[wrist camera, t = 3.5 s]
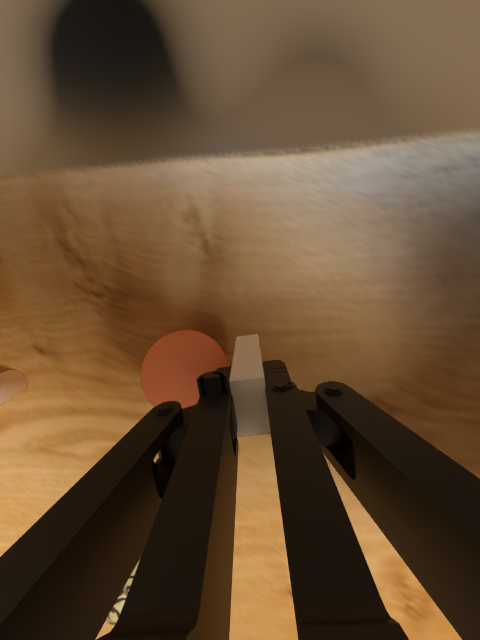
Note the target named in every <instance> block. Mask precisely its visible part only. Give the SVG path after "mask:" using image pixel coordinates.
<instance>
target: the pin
mask: <svg viewBox="0 0 480 640" xmlns="http://www.w3.org/2000/svg"><path fill="white" fill-rule="evenodd" d="M26 389H27V380H26V378H25V377H24V375H23V374H22V373H20V372H19V371H17V370H7V371H5V372H2V373H0V405H1V404H3V403H5V402H6V401H8V400H10V399H12V398H14V397H16V396H18V395H20V394H21V393H23V392H25V390H26Z"/></svg>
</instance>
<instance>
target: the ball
mask: <svg viewBox="0 0 480 640" xmlns="http://www.w3.org/2000/svg"><path fill="white" fill-rule="evenodd" d="M221 367H228V363H227V359H226V356H225V354H224V352H223V350H222V348H221V347H220V346H219V344H218V343H217V342H216V341H215V340H213V339H212V338H211V337H209V336H208V335H206V334H203V333H201V332H198V331H193V330H181V331H176V332H172V333H170V334H167V335H166V336H164V337H162V338H161V339H159V340H158V341H157V342H156V343H155V344H154V345H153V346H152V347H151V348H150V349H149V351H148V353H147V354H146V356H145V358H144V361H143V364H142V368H141V384H142V388H143V391H144V393H145V395H146V397H147V399H148V400H149V402H150V403H151V404H152V405H153V406H154V407H155V406H157V405H159V404H161V403H163V402H166V401H177V402H179V403H181V407H182V409H183V408H186V407H190V406H193V405H195V404H197V403H198V400H199V397H200V395H199V390H198V385H197V381H196V379H197V378H198V377H199V376H200V375H202V374H204V373H207V372H210V371H216V370H217V369H218V368H221Z"/></svg>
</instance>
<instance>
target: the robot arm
mask: <svg viewBox="0 0 480 640" xmlns="http://www.w3.org/2000/svg"><path fill="white" fill-rule="evenodd" d="M196 381H197V385H198V390H199V395H200V397H199V400H198V403H197V404H195V405H193V406H190V407H186V408H183V409H182V407H181V403H179V402H177V401H166V402H163V403H161V404H159V405H157V406H155V407H154V408H153V409H152V410H150V411H149V412H148V413H147V414H146V415H145V416H144V417H143V418H142V419H141V420H140V421H139V422H138V423H137V424H136V425H135V426H134V427H133V428H132V429H131V430H130V431H129V432H128V433H127V434H126V435H125V436H124V437H123V438H122V439H121V440H120V441H119V442H118V443H117V444H116V445H115V446H114V447H113V448H112V449H111V450H110V451H109V452H107V453H106V454H105V455H104V456H103V457H102V458H101V459H100V460H99V461H98V462H97V463H96V464H95V465H94V466H93V467H92V468H91V469H90V470H89V471H88V472H87V473H86V474H85V475H84V476H83V477H82V478H81V479H80V480H79V481H78V482H77V483H76V484H75V485H74V486H73V487H72V488H71V489H70V490H69V491H68V492H67V493H66V494H65V495H63V496H62V497H61V498H60V499H59V500H58V501H57V502H56V503H55V504H54V505H53V506H52V507H51V508H50V509H49V510H48V511H47V512H46V513H45V514H44V515H43V516H42V517H41V518H40V519H39V520H38V521H37V522H36V523H35V524H34V525H33V526H32V527H31V528H30V529H29V530H28V531H27V532H26V533H25V534H24V535H23V536H22V537H20V538H19V539H18V540H17V541H16V542H15V543H14V544H13V545H12V546H11V547H10V548H9V549H8V550H7V551H6V552H5V553H4V554H3V555H2V556H1V557H0V640H95V639H96V637H97V635H98V633H99V632H100V630H101V628H102V626H103V624H104V623H105V621H106V619H107V617H108V615H109V613H110V612H111V610H112V608H113V606H114V604H115V603H116V601H117V599H118V597H119V595H120V594H121V592H122V590H123V588H124V586H125V585H126V583H127V581H128V579H129V577H130V576H131V574H132V572H133V570H134V568H135V567H136V565H137V563H138V561H139V559H140V558H141V559H140V561H139V564H138V567H137V569H136V572H135V575H134V578H133V580H132V583H131V586H130V589H129V591H128V594H127V597H126V599H125V602H124V605H123V608H122V610H121V613H120V615H119V618H118V620H117V622H116V624H115V626H114V627H113V629H112V630H111V632H109V633H108V634H106V635H104V636H102V637H100V638H98V639H97V640H229V630H230V609H231V589H232V568H233V548H234V527H235V507H236V486H237V466H238V439H237V430H238V436H239V437H241V436H251V435H260V434H270V433H271V438H272V446H273V453H274V460H275V468H276V475H277V483H278V490H279V498H280V505H281V513H282V520H283V528H284V535H285V543H286V550H287V557H288V565H289V572H290V580H291V587H292V595H293V602H294V610H295V617H296V625H297V632H298V640H409V639H408V637H407V636H406V634H405V632H404V631H403V629H402V628H401V626H400V624H399V623H398V622H396V621H395V620H394V619H392V618H391V617H390V616H389V614H388V612H387V611H386V609H385V606H384V604H383V602H382V600H381V597H380V595H379V592H378V590H377V587H376V585H375V582H374V580H373V577H372V575H371V572H370V570H369V567H368V565H367V562H366V560H365V557H364V555H363V552H362V550H361V547H360V545H359V542H358V540H357V537H356V535H355V532H354V530H353V527H352V525H351V522H350V520H349V517H348V515H347V512H346V510H345V507H344V505H343V502H342V500H341V497H340V495H339V492H338V490H337V487H336V485H335V482H334V480H333V477H332V475H331V472H330V470H329V467H328V465H327V462H326V460H325V457H324V455H323V453H324V454H325V456H326V457H327V458H328V460H329V461H330V463H331V464H332V465H333V467H334V468H335V469H336V471H337V472H338V473H339V475H340V476H341V477H342V479H343V480H344V481H345V483H346V484H347V485H348V487H349V488H350V489H351V491H352V492H353V493H354V495H355V496H356V497H357V499H358V500H359V501H360V503H361V504H362V505H363V507H364V508H365V509H366V511H367V512H368V514H369V515H370V516H371V518H372V519H373V520H374V522H375V523H376V524H377V526H378V527H379V528H380V530H381V531H382V532H383V534H384V535H385V536H386V538H387V539H388V540H389V542H390V543H391V544H392V546H393V547H394V548H395V550H396V551H397V552H398V554H399V555H400V556H401V558H402V559H403V560H404V562H405V563H406V565H407V566H408V567H409V569H410V570H411V571H412V573H413V574H414V575H415V577H416V578H417V579H418V581H419V582H420V583H421V585H422V586H423V587H424V589H425V590H426V591H427V593H428V594H429V595H430V597H431V598H432V599H433V601H434V602H435V603H436V605H437V606H438V607H439V609H440V610H441V611H442V613H443V614H444V616H445V617H446V618H447V620H448V621H449V622H450V624H451V625H452V626H453V628H454V629H455V630H456V632H457V633H458V634H459V636H460V637H461V638H462V640H480V479H479V478H478V477H476V476H475V475H474V474H472V473H471V472H469V471H468V470H466V469H465V468H464V467H462V466H461V465H459V464H458V463H457V462H455V461H454V460H452V459H451V458H449V457H448V456H447V455H445V454H444V453H442V452H441V451H440V450H438V449H437V448H435V447H434V446H432V445H431V444H430V443H428V442H427V441H425V440H424V439H422V438H421V437H420V436H418V435H417V434H415V433H414V432H413V431H411V430H410V429H408V428H407V427H405V426H404V425H403V424H401V423H400V422H398V421H397V420H396V419H394V418H393V417H391V416H390V415H388V414H387V413H386V412H384V411H383V410H381V409H380V408H379V407H377V406H376V405H374V404H373V403H371V402H370V401H369V400H367V399H366V398H364V397H363V396H361V395H360V394H359V393H357V392H356V391H354V390H353V389H352V388H350V387H349V386H347V385H345V384H343V383H339V382H334V381H333V382H332V381H329V382H324V383H321V384H319V385H318V386H317V387H316V390H315V391H316V392H306V391H302V390H299V389H297V387H296V385H295V384H294V382H291V379H290V377H289V374H288V371H287V369H286V366H285V363H284V362H282V361H281V360H272V361H264V362H262V358H261V351H260V345H259V338H258V334H253V335H245V336H238V337H236V343H235V349H234V355H233V361H232V366H229V367H221V368H218V369H217V370H216V371H210V372H207V373H204V374H202V375H200V376H199V377H198V378H197V379H196ZM157 453H158V455H159V458H158V460H157V461H156V462H155V463H154V461H153V460H154V458H155V456H156V454H157Z"/></svg>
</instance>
